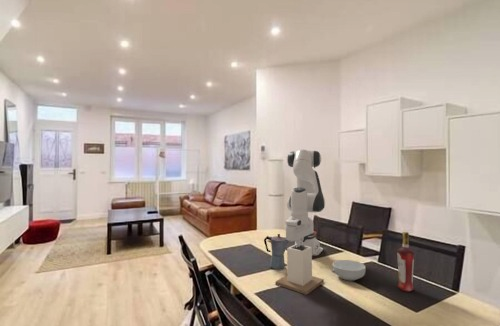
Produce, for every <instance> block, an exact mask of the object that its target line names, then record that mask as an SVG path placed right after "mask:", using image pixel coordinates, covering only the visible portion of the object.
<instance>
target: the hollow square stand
mask: <svg viewBox="0 0 500 326" xmlns="http://www.w3.org/2000/svg"><path fill="white" fill-rule="evenodd" d="M295 245H297V244H295V243H294V245H291V246H289V247H287V248H286V249H287V250H286V256H287V257H286V260H287V261H286V265H287V267H286V272H287V273H286V275H284V276H282V277H281V278H279V279H278V280H275V283H274V284H275V285H276V286H280V287H282V288H285V289H289V290H292V291H293V292H294V291H295V292H298V293H300V294H303V295H309V294H310V293H311V292H313V291H314V290H315V289H316V288H318V287H319V286H320V285H322V284H323V283H324V280H325V279H323V278H320V277H316V276H313V255H312V247H308V246H304V250H303V251H301V250H297V249H295Z"/></svg>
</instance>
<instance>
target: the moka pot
mask: <svg viewBox="0 0 500 326" xmlns="http://www.w3.org/2000/svg"><path fill="white" fill-rule="evenodd" d="M267 240H268V241H270V247H271V250H270V249H269V247H268V243H267ZM263 242H264V245H265V246H264V247H265V249H266V252H268V253H271V257H270V263H269V267H270V269H273V270H277V271H279V270H284V269H285V268H286V267H285V266H286V265H285V251H286V249H287V248H286V247H287V246H288V244H289V242H290V241H287V239H286V237H284V236H281V234H280V233H278V234H277V236H268V235H267V236H265V238H264V239H263Z"/></svg>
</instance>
